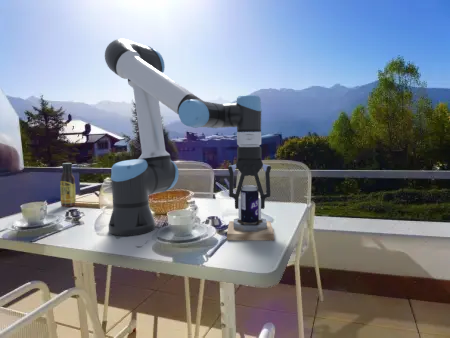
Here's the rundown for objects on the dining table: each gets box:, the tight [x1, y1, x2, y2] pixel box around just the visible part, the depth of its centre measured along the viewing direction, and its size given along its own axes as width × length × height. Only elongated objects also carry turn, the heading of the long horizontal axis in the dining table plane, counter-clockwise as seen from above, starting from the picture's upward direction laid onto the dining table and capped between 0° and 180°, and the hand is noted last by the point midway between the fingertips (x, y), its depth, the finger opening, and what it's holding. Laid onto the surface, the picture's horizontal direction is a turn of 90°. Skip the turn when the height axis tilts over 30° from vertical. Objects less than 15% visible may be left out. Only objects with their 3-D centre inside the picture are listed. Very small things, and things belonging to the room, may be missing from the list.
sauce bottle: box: [59, 162, 77, 208], centre depth 149 cm, size 7×6×20 cm
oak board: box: [226, 220, 275, 241], centre depth 104 cm, size 14×14×2 cm
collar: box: [233, 217, 267, 232], centre depth 104 cm, size 10×10×2 cm
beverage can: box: [240, 184, 260, 224], centre depth 103 cm, size 6×6×12 cm
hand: (249, 218), depth 104 cm, fingers closed on beverage can, 6 cm apart
